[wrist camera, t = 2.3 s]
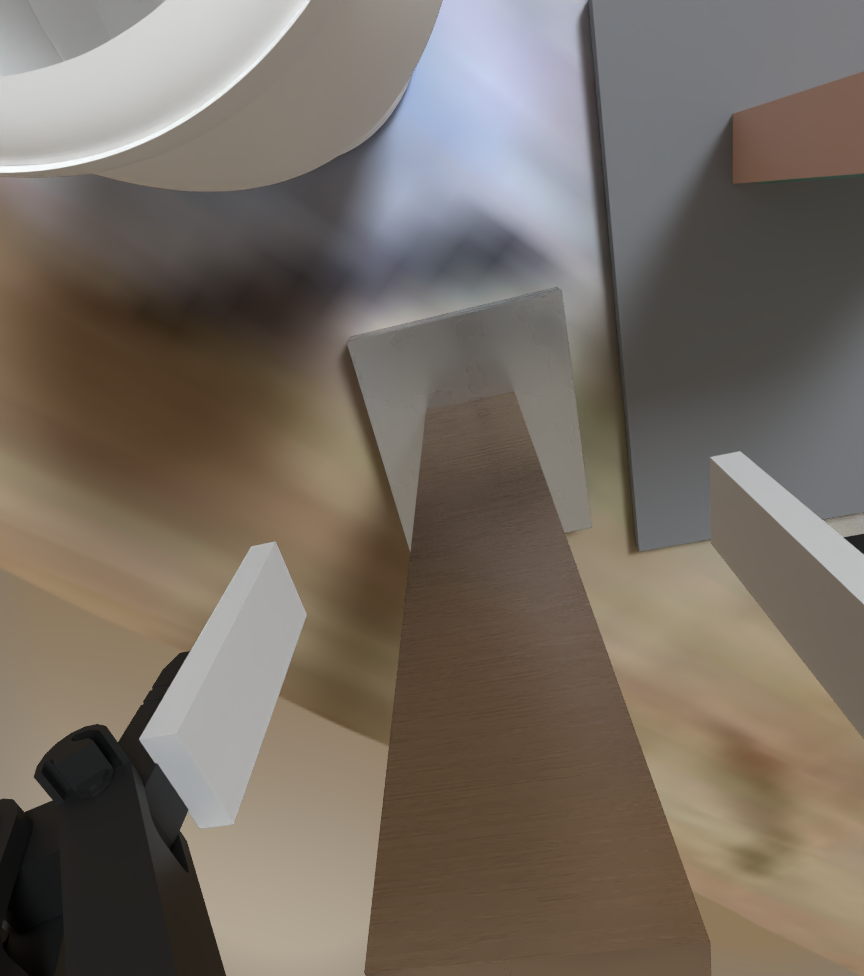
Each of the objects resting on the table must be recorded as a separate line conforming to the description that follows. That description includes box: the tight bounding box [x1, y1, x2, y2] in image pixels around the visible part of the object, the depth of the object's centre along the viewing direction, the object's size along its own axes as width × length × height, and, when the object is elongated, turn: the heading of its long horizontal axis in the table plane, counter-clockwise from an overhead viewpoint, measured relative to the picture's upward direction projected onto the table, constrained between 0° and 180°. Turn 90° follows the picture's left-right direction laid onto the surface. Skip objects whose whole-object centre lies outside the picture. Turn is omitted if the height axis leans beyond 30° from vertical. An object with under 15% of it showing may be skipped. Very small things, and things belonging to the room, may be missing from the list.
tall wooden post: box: [347, 287, 711, 976], centre depth 15 cm, size 10×8×19 cm
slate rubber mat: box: [588, 0, 864, 552], centre depth 20 cm, size 20×17×1 cm
